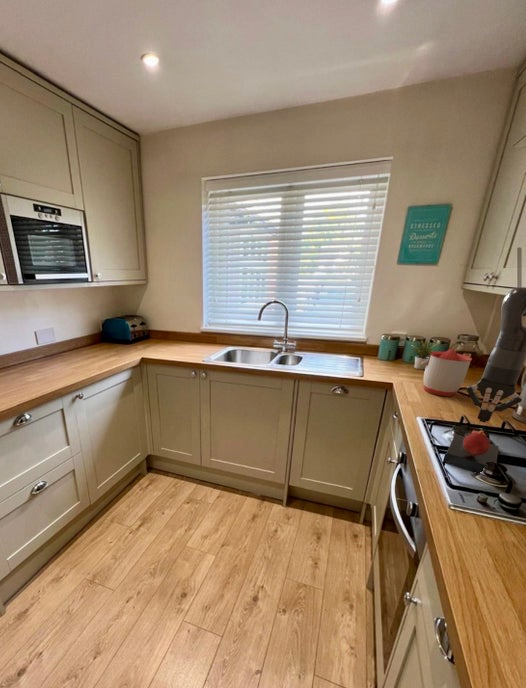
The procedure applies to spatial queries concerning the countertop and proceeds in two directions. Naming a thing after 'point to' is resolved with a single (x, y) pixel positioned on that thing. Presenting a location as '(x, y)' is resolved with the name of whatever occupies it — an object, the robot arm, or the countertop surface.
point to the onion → (476, 443)
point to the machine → (464, 459)
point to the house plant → (423, 354)
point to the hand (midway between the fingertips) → (482, 421)
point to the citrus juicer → (445, 372)
